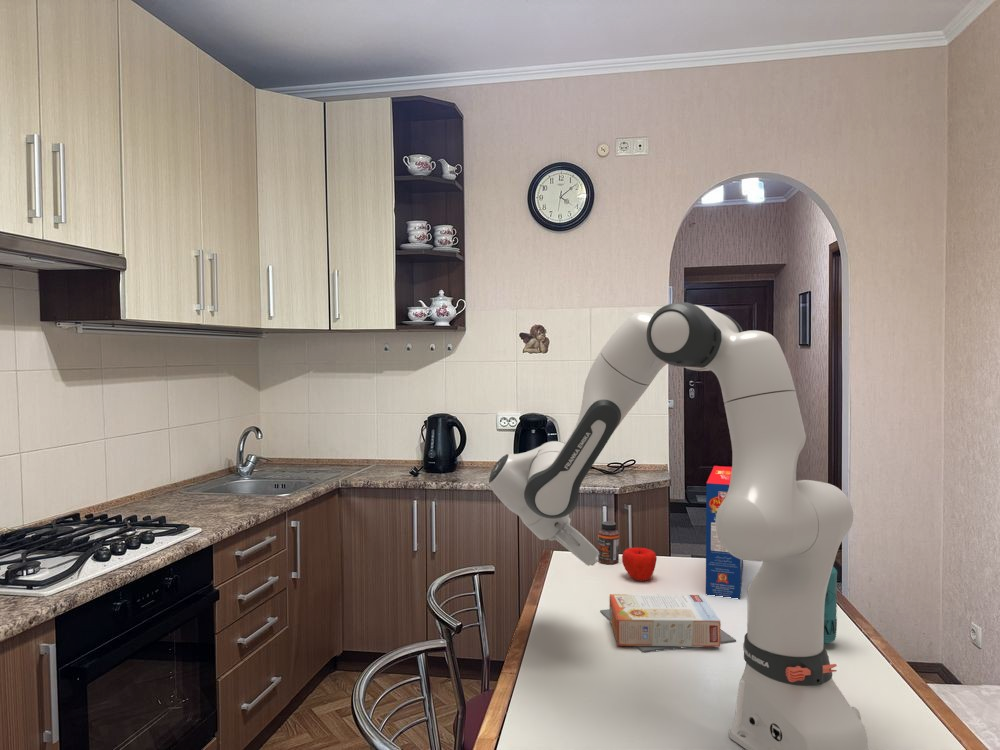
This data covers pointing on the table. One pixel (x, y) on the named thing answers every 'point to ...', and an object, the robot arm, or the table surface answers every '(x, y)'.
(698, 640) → the cracker box
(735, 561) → the pasta box
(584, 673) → the table surface
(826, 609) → the beverage bottle
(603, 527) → the supplement bottle
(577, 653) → the table surface
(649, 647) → the mat
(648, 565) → the apple
